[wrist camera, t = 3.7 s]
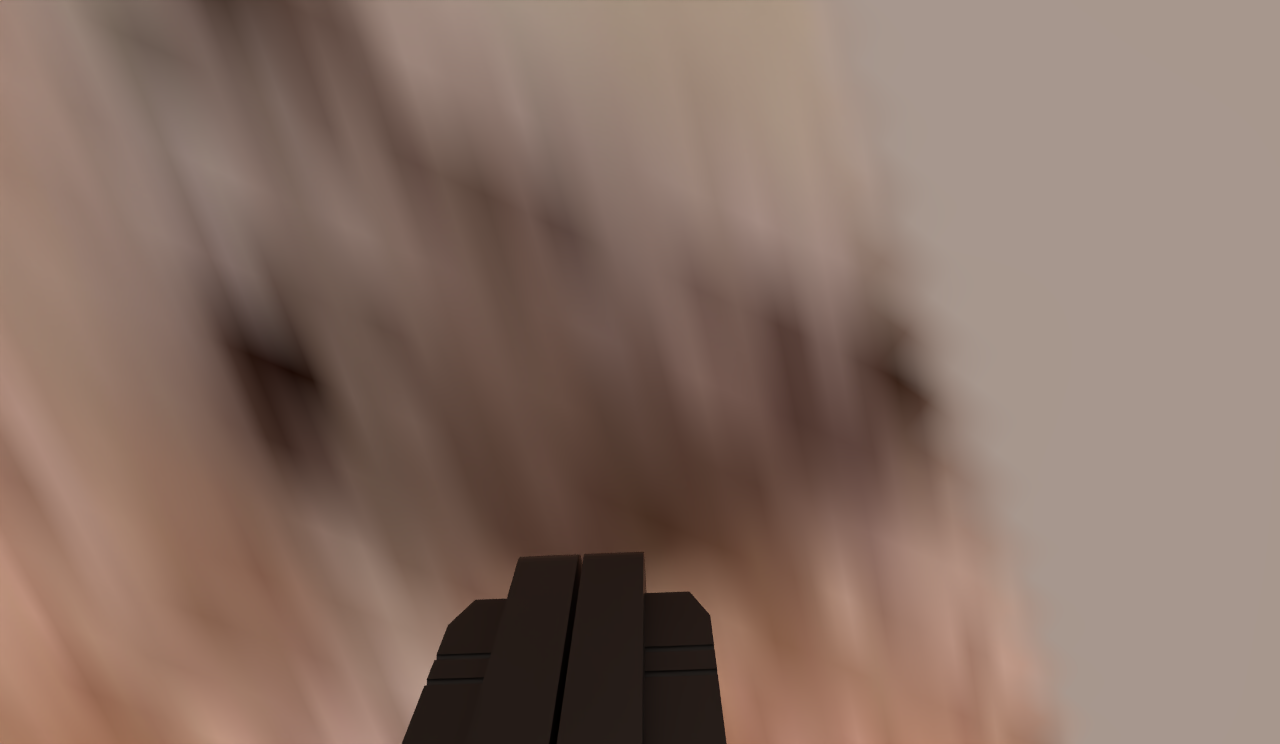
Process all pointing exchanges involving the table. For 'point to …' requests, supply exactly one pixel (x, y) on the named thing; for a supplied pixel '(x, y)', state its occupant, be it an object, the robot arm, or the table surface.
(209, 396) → the table surface
